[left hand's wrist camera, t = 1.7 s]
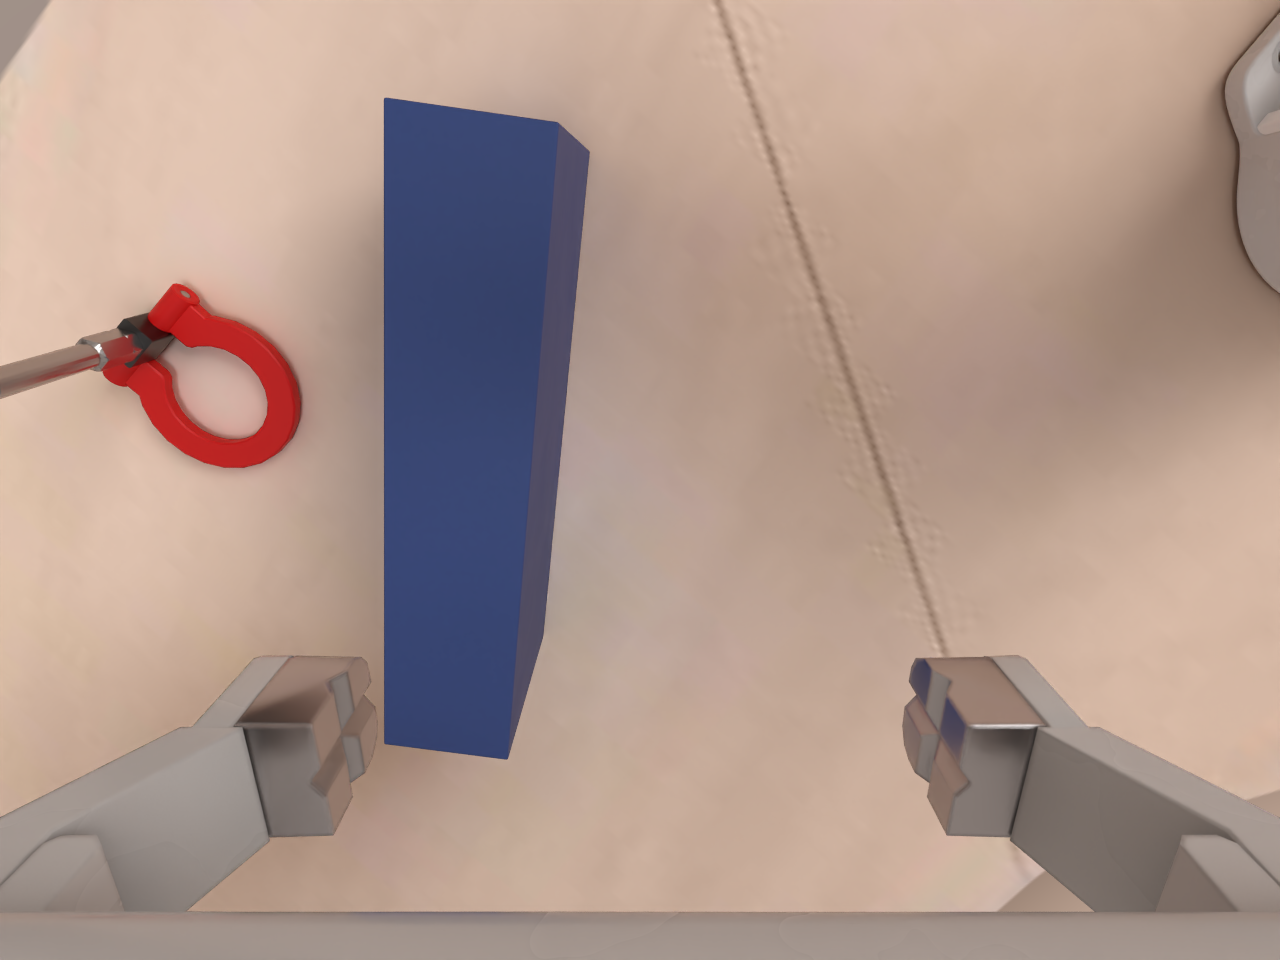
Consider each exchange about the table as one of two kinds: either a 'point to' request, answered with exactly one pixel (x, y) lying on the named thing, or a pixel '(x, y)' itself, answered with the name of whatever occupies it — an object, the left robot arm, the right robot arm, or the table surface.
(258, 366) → the tow hook
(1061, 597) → the table surface
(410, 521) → the box
